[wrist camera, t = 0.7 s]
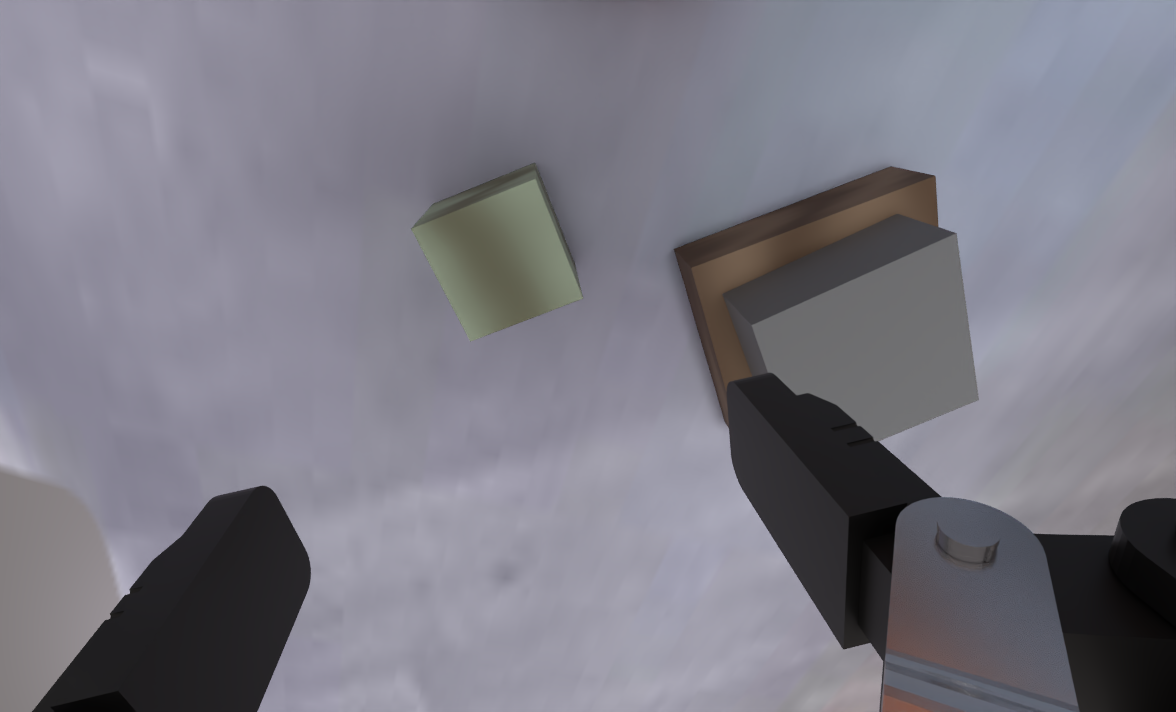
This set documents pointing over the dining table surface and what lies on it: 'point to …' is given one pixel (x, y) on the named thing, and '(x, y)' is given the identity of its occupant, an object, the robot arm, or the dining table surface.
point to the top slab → (866, 325)
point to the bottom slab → (786, 252)
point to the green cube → (499, 253)
